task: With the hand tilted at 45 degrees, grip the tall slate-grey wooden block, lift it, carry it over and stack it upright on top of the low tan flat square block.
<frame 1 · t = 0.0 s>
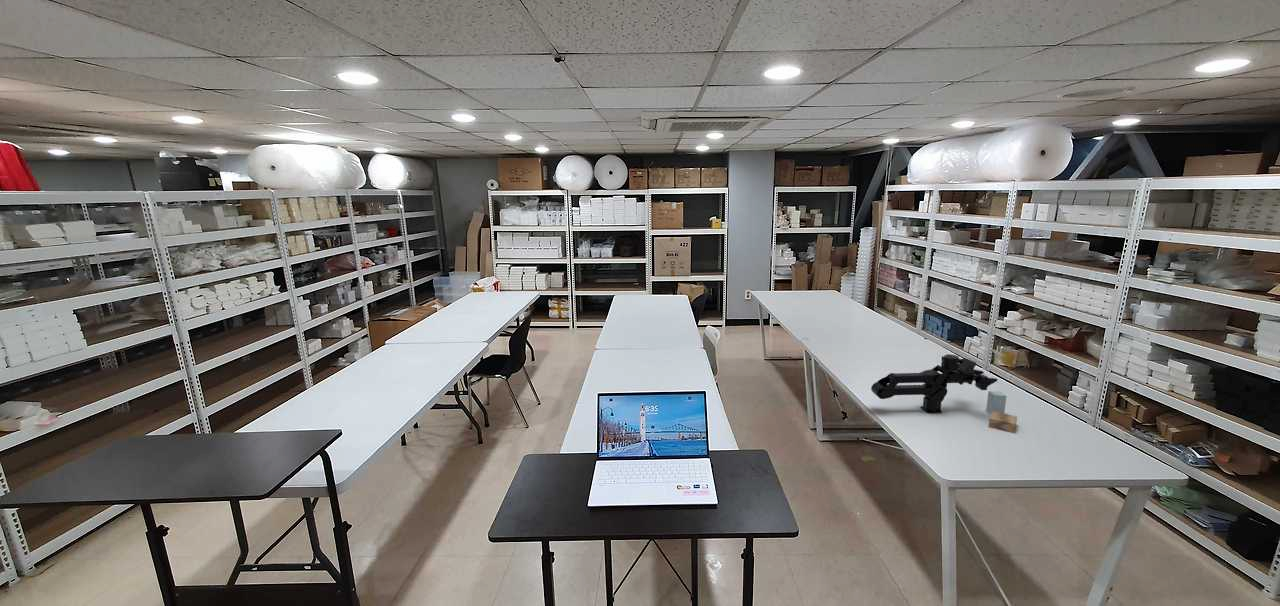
hand: (990, 376, 218), 16 cm above the table, tool horizontal, fingers open, 9 cm apart
tan flat square block: (1002, 425, 205), on the table
slate block: (994, 413, 216), on the table
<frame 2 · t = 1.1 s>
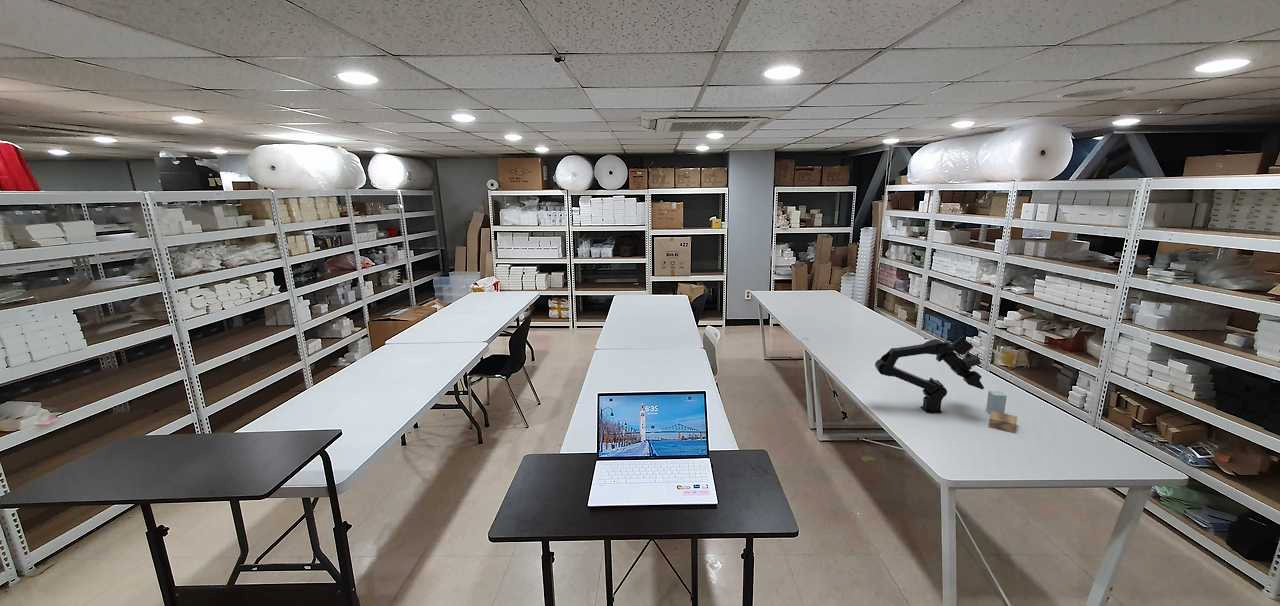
hand: (978, 384, 215), 14 cm above the table, tool tilted 45°, fingers open, 9 cm apart
nothing on the table moved.
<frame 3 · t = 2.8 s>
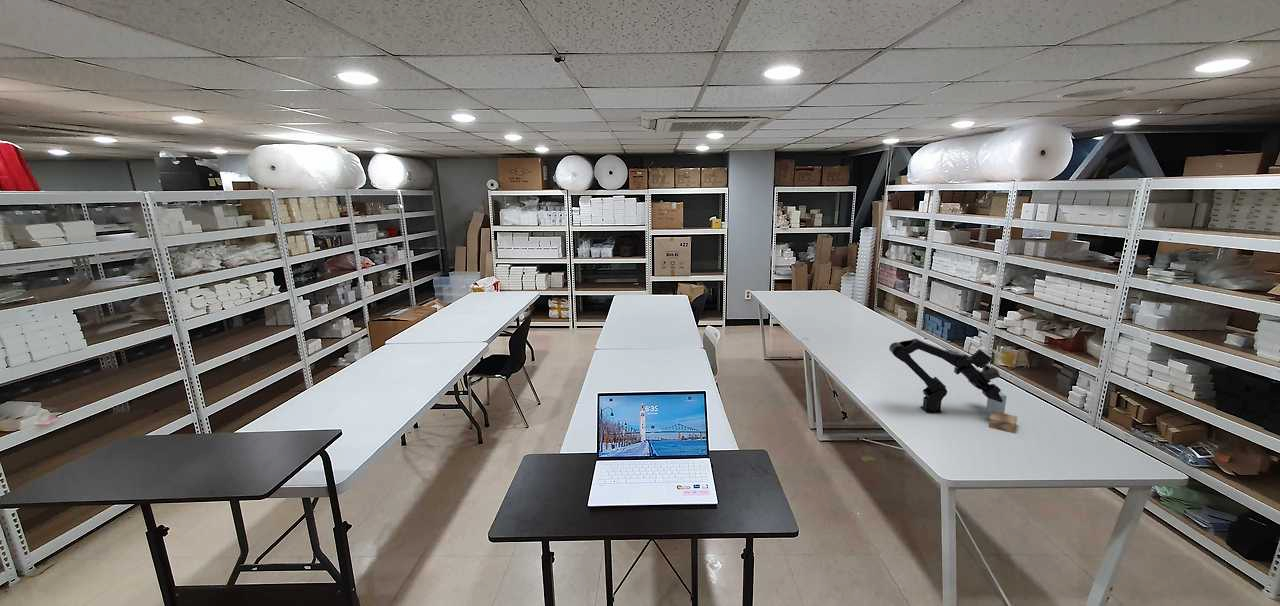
hand: (997, 397, 215), 8 cm above the table, tool tilted 45°, fingers open, 9 cm apart
nothing on the table moved.
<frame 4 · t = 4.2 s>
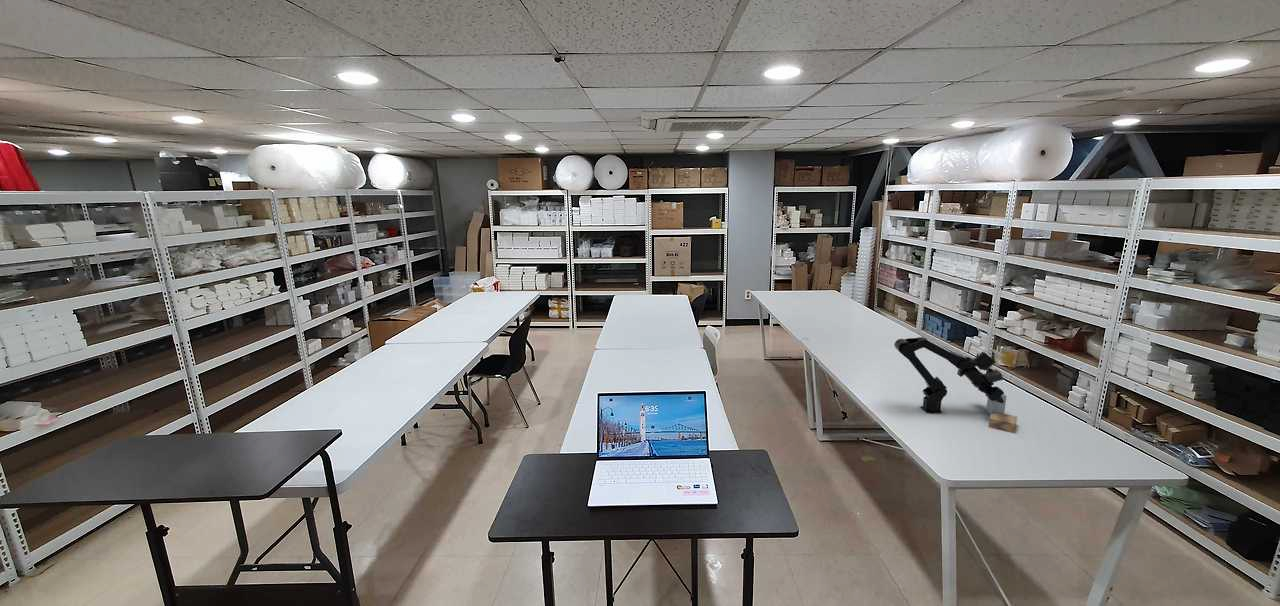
hand: (1000, 400, 215), 7 cm above the table, tool tilted 45°, fingers closed on slate block, 5 cm apart
slate block: (994, 413, 216), on the table, touching gripper
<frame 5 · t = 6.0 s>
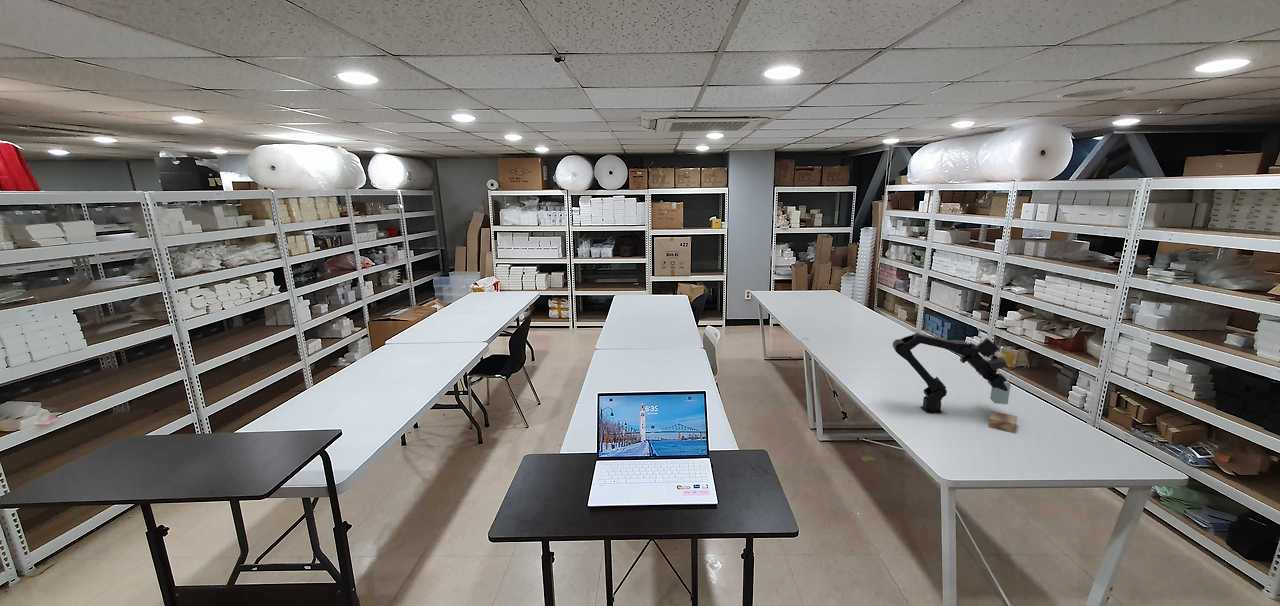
hand: (1004, 388, 211), 13 cm above the table, tool tilted 45°, fingers closed on slate block, 5 cm apart
slate block: (998, 401, 213), point 7 cm above the table, touching gripper
when the fingers open (12 cm above the table, at t = 8.0 s): slate block drops 1 cm, resting on tan flat square block.
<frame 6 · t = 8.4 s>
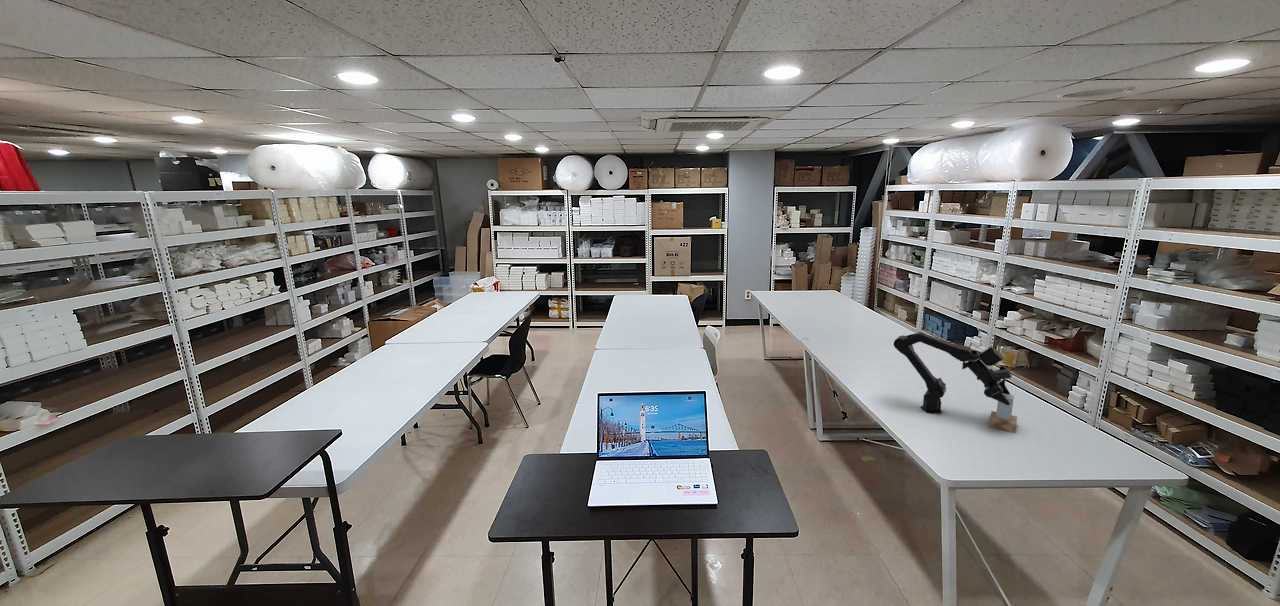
hand: (1009, 401, 201), 12 cm above the table, tool tilted 45°, fingers open, 9 cm apart
slate block: (1003, 417, 204), point 4 cm above the table, touching tan flat square block
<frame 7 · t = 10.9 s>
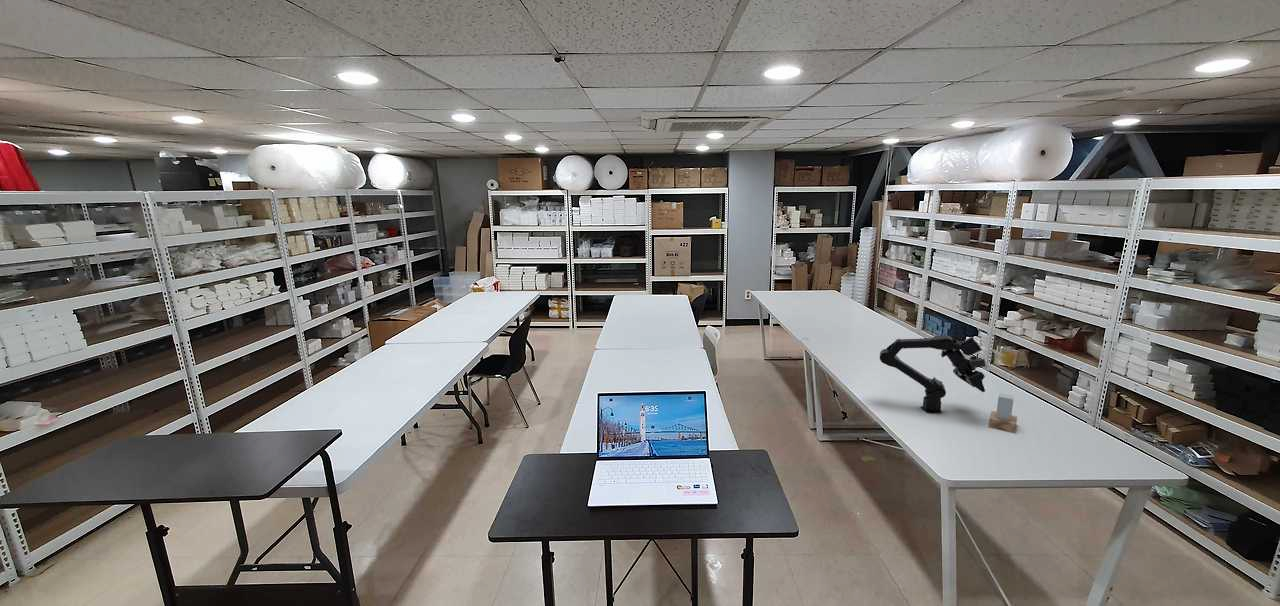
hand: (979, 389, 212), 13 cm above the table, tool tilted 35°, fingers open, 9 cm apart
nothing on the table moved.
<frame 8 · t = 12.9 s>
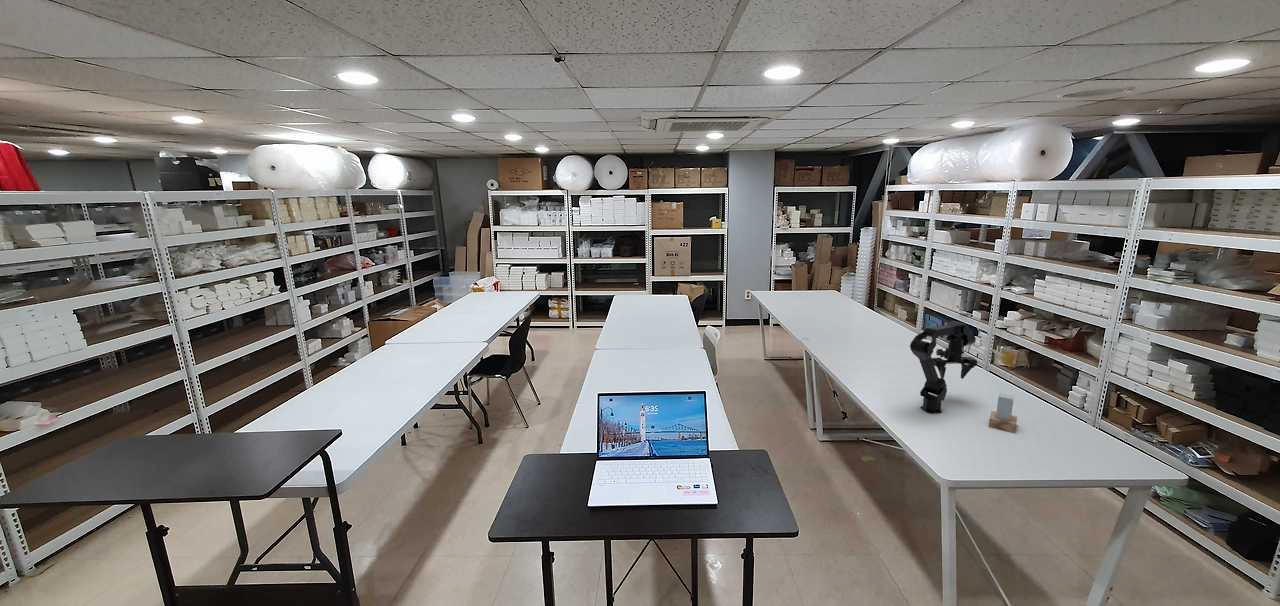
hand: (952, 378, 225), 13 cm above the table, tool pointing down, fingers open, 9 cm apart
nothing on the table moved.
at the end: slate block 0.0 cm off-centre on the tan flat square block, point 4.0 cm above the tan flat square block's base; slate block tilted 0°; the gripper is holding nothing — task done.
